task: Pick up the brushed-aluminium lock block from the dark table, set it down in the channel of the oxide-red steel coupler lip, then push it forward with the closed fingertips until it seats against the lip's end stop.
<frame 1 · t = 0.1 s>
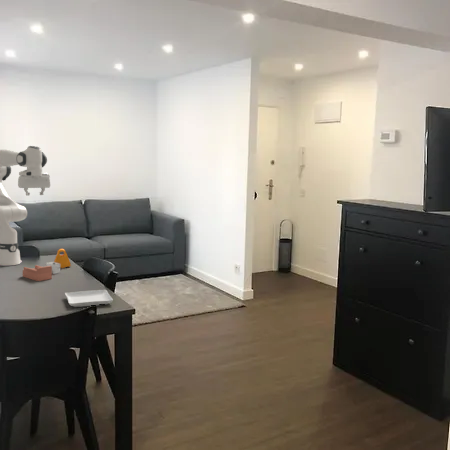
hand: (34, 195, 309), 48 cm above the table, tool pointing down, fingers open, 8 cm apart
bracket: (61, 267, 331), on the table
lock: (53, 272, 313), on the table
salad plate: (88, 302, 252), on the table
coupler lip: (37, 277, 298), on the table
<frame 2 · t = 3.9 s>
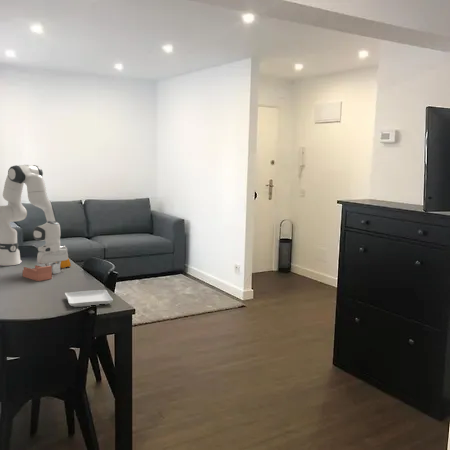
hand: (53, 269, 313), 2 cm above the table, tool pointing down, fingers closed on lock, 5 cm apart
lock: (53, 272, 313), on the table, touching gripper
everything else where it was.
when the fingers open (8 cm above the table, at t = 8.2 s): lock drops 1 cm, resting on coupler lip.
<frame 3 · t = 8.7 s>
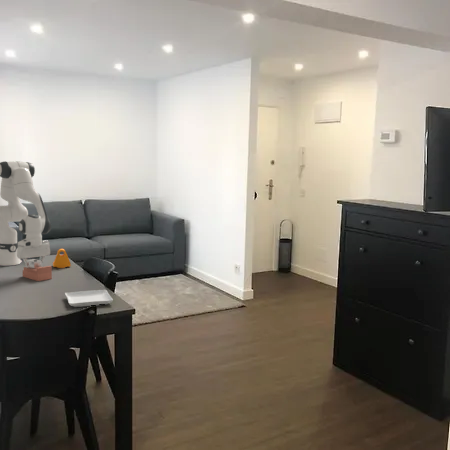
hand: (34, 264, 299), 8 cm above the table, tool pointing down, fingers open, 8 cm apart
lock: (34, 270, 299), point 4 cm above the table, touching coupler lip
everything else where it was.
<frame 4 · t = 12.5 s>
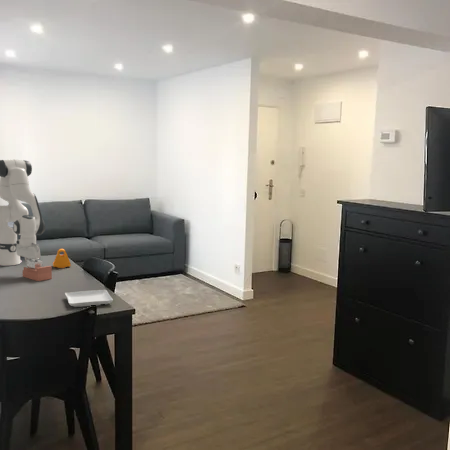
hand: (28, 264, 302), 6 cm above the table, tool pointing down, fingers closed
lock: (34, 270, 299), point 4 cm above the table, touching coupler lip, gripper
everything else where it was.
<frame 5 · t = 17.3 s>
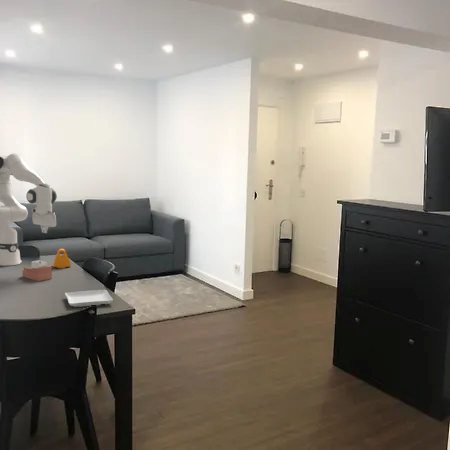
hand: (44, 232, 309), 25 cm above the table, tool pointing down, fingers closed
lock: (39, 271, 296), point 4 cm above the table, touching coupler lip
everything else where it was.
at the end: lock 0.7 cm from the target spot on the coupler lip, point 4.0 cm above the coupler lip's base; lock tilted 0°; the gripper is holding nothing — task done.
